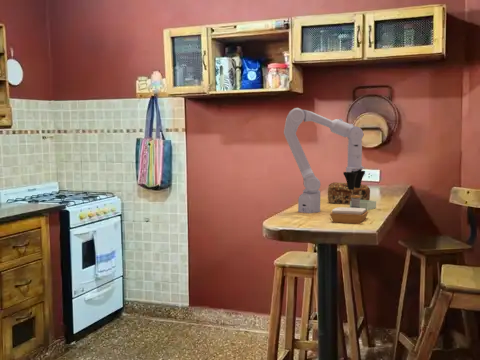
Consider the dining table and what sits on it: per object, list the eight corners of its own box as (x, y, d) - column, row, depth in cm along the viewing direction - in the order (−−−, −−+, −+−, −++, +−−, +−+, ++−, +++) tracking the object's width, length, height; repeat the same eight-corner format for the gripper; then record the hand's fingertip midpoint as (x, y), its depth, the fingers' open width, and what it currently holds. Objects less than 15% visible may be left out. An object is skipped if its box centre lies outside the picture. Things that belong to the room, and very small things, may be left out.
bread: (327, 203, 268) (327, 183, 267) (332, 201, 277) (332, 181, 277) (366, 205, 260) (366, 184, 259) (370, 203, 270) (371, 182, 269)
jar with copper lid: (357, 213, 226) (357, 196, 226) (348, 212, 229) (349, 195, 228) (361, 212, 229) (362, 195, 228) (353, 211, 231) (353, 194, 231)
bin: (367, 212, 236) (367, 202, 236) (349, 210, 242) (349, 201, 241) (375, 210, 243) (376, 200, 242) (358, 208, 248) (359, 199, 247)
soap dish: (368, 221, 213) (368, 208, 213) (363, 225, 204) (363, 211, 204) (335, 219, 218) (335, 206, 218) (329, 223, 209) (329, 209, 209)
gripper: (358, 156, 222) (357, 190, 223) (369, 155, 235) (369, 187, 236) (341, 156, 226) (340, 189, 227) (353, 155, 238) (353, 187, 239)
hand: (354, 188), depth 232 cm, fingers open, 7 cm apart
